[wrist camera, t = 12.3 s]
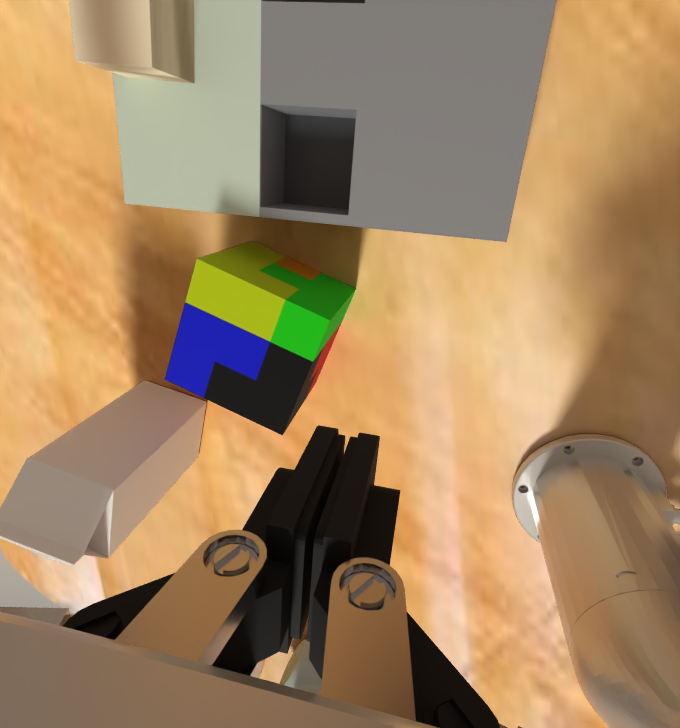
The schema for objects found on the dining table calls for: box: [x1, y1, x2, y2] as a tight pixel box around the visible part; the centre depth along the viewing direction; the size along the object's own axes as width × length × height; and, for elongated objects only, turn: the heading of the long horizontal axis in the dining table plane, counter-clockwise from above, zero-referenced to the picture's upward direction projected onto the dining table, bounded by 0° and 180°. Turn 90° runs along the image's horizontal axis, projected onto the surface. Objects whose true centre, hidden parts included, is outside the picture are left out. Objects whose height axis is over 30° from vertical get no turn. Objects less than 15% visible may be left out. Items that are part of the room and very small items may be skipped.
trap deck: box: [112, 0, 556, 242], centre depth 32 cm, size 28×20×6 cm
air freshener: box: [280, 639, 322, 695], centre depth 53 cm, size 11×8×10 cm
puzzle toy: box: [165, 241, 356, 435], centre depth 38 cm, size 10×10×10 cm
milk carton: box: [0, 381, 207, 566], centre depth 41 cm, size 7×7×19 cm
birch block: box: [69, 0, 195, 83], centre depth 29 cm, size 5×5×5 cm
